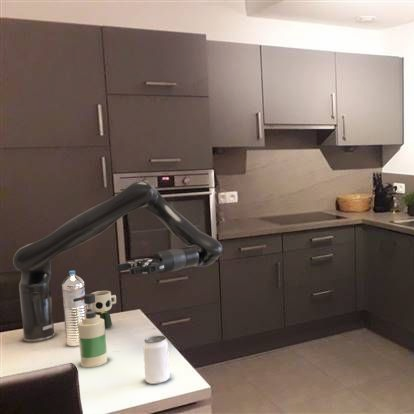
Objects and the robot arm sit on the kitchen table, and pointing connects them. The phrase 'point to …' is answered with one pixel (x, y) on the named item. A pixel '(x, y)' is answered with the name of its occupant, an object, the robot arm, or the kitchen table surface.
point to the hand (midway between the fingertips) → (123, 270)
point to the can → (156, 359)
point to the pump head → (87, 299)
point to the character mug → (103, 305)
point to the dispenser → (92, 340)
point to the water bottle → (73, 307)
